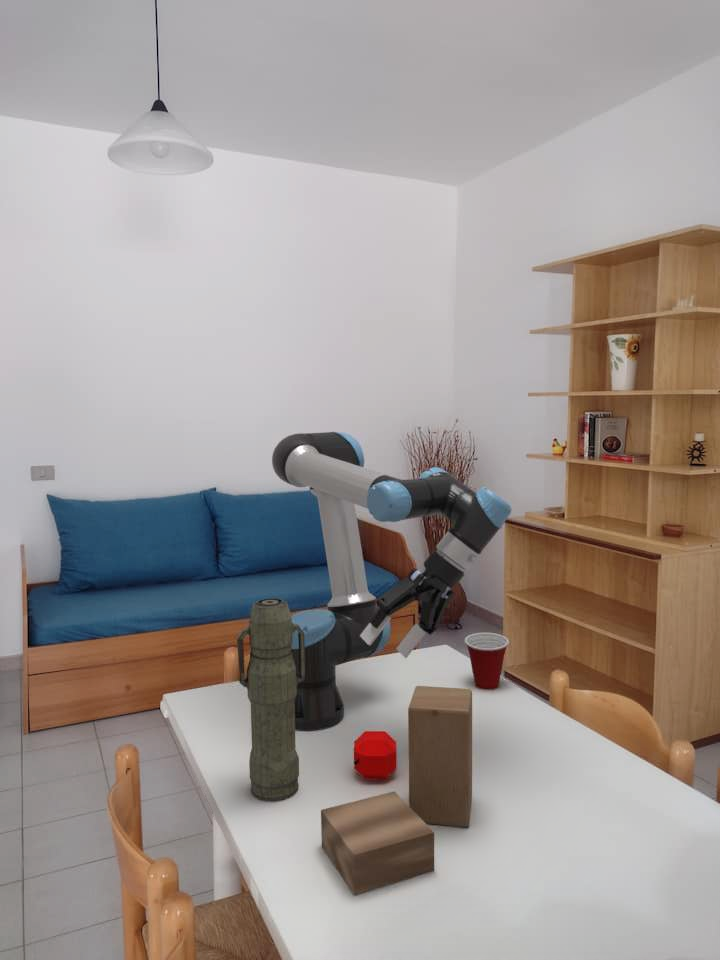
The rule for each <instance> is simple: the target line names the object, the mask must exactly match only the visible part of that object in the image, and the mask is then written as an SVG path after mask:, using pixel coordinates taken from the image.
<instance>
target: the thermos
mask: <svg viewBox="0 0 720 960" xmlns="http://www.w3.org/2000/svg"><path fill="white" fill-rule="evenodd" d="M249 615H250V616H249V621H248V627H245V628H242V630H241V631H240V632H239V634H238V635H237V637H236V643H237V657H238V658H237V659H238V681H239V684H240V685H241V686H243V688H246V689H247V699H248V701H249V703H250V726H251V730H250V732H251V750H250V753H249V763H248V764H249V765H248V766H249V767H248V768H249V779H250V783H251V784H250V785H251V787H250V793H251V796H253V797H254V799H256V798H257V800H260V801H262V802H267V801H268V802H269V801H270V802H276V801H277V802H281V801H285V800H287V799H290V798H292V797H294V796H295V795H296V794H297V793H298V791H299V786H300V785H299V777H300V758H299V755H298V752H297V749H296V729H295V702H294V700H295V698H296V695H297V686H298V682H302V681H304V679H305V644H304V632H303V631H302V629H301V628H300V627H299V625H298V624H293V623H292V613H291V611H290V608H289V605H288V602H287V601H286V600H284V599H281V598H279V597H278V598H277V597H269V598H268V597H267V598H261V599H259V600H257V601H255V602H254V603H253V604H252V607H251V610H250V614H249ZM297 630H298V638H299V673H300V675H298V674H297V672H296V664H295V661H294V659H293V650H292V649H291V645H292V633H295V631H297ZM247 635H248V636H249V638H248V639H249V647H250V652H249V661H248V665H247V668H246V678H245V650H244V649H245V648H244V638H245V637H246V636H247ZM268 802H267V803H268ZM270 802H269V803H270Z"/></svg>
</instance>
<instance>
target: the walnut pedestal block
mask: <svg viewBox="0 0 720 960" xmlns="http://www.w3.org/2000/svg"><path fill="white" fill-rule="evenodd" d="M320 823H321V824H320V826H321V827H320V828H321V831H320V832H321V847H322V849H323V851H324V852H325V853H326V854H327V856H328V858H329V859H330V861H331V863H332V864H333V865H334V867H335V868H336V870H337V871H338V873H339V874H340V876H341V877H342V879H343V880H344V882H345V883H346V885H347V886H348V887H349V889H350V890H351V892H352V893H353V896H358V895H360V894H364V893H368V892H369V891H373V890H377V889H380V888H383V887H385V886H389V885H393V884H396V883H400V882H402V881H406V880H408V879H411V878H415V877H419V876H422V875H426V874H428V873H430V872H434V871H435V832H434V831H433V830H432V829H431V827H430V826H429V825H428V823H425V822H424V821H423V820H422V819H421V818H420V817H419V816H418V815H417V814H416V813H415V812H414V811H413V810H412V809H411V808H410V807H409V804H408V803H407V802H405V800H404V799H403V798H402V797H401V796H400V795H399V794H398V793H397V792H396V791H394V790H393V791H390V792H386V793H382V794H378V795H375V796H370V797H367V798H363V799H359V800H353V801H352V802H351V801H350V802H347V803H343V804H342V803H341V804H338V805H335V806H331V807H327V808H323V809H320Z"/></svg>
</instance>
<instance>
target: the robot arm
mask: <svg viewBox="0 0 720 960" xmlns="http://www.w3.org/2000/svg"><path fill="white" fill-rule="evenodd" d="M271 465H272V468H273V471H274V473H275V474H276V476H277V477H278V478H279V479H280V480H281V481H282V482H285V483H286V484H288V485H291V486H294V487H296V488H306V487H309V491H310V493H312V495H314V496H315V497H316V498H317V502H318V503H317V505H318V509H319V517H320V523H321V529H322V536H323V542H324V549H325V557H326V562H327V568H328V576H329V584H330V590H331V596H332V597H331V599H330V601H328V603H327V604H326V605H327V609H326V608H325V609H324V608H323V609H322V608H314V609H312V610H311V609H307V610H302V611H299V612H297V613H295V614H291V616H292V623H293V624H298V625H299V627H300V628H301V629H302V631H303V632H304V644H305V679H304V681H302V682H298V686H297V695H296V698H295V700H294V702H295V731H297V730H298V731H317V730H323V729H327V728H330V727H334V726H336V725H338V724H339V723H340V722H341V721H342V720H343V719H344V717H345V705H344V701H343V699H342V696H341V693H340V690H339V688H338V686H337V682H336V681H337V680H336V666H339V665H342V664H346V663H349V662H352V661H356V660H359V659H363V658H369V657H371V656H373V655H375V654H378V653H380V652H382V651H383V649H384V648H385V647H386V645H387V644H388V642H389V639H390V635H391V621H390V620H392V617H391V615H393V614H395V613H397V612H398V611H400V610H401V609H403V608H404V607H407V606H409V605H410V604H412V603H414V602H419V601H422V607H421V613H420V618H419V621H418V623H415V624H414V625H413V626H412V628H411V629H410V630H409V632H407V634H406V635H405V636H404V638H403V639H402V641H401V642H400V644H399V645H398V646H397V647H396V650H397V651H398V652H399V653H400V655H402V656H403V658H405V659H407V658H408V657H409V655H410V654H411V653H412V652H413V650H414V649H415V648H416V647H417V645H418V644H419V643H420V641H421V640H423V637H424V636H425V635H426V634H427V633H428V635H430V636H431V635H432V634H433V633H434V632H436V631H437V630H438V628H439V625H440V623H441V620H442V618H443V615H444V613H445V611H446V609H447V606H448V603H449V602H450V600H451V598H453V596H454V594H455V591H453V590H452V589H451V588H456V586H457V585H458V584H459V583H460V581H461V580H462V579H463V577H464V576H465V572H464V571H468V570H469V569H470V568H471V566H472V565H473V564H474V563H476V562H477V559H478V557H479V556H480V555H481V553H482V552H483V550H484V549H485V548H486V547H487V545H488V544H489V543H490V542H491V541H492V539H493V538H494V537H495V535H496V534H497V533H498V531H499V530H500V529H502V528H503V525H504V524H505V523H506V521H507V519H508V518H509V516H510V515H511V513H512V511H513V510H512V507H511V505H510V503H508V502H507V501H506V500H505V499H503V498H502V497H501V496H499V495H498V494H497V493H495V492H494V491H493V490H492V489H489V488H488V487H486V486H483V487H481V488H480V489H479V490H477V491H474V490H472V489H471V488H470V487H469V486H467V485H466V484H465V483H463V482H461V481H460V480H459V479H458V478H456V477H455V476H454V475H453V474H451V473H450V472H448V471H445V470H444V469H442V468H441V467H436V466H435V467H430V468H428V470H425V471H423V472H422V473H421V474H420V476H419V477H418V478H412V479H402V478H401V479H400V478H397V477H394V476H390V475H388V474H385V473H381V472H379V471H375V470H372V469H369V468H365V467H364V466H365V454H364V451H363V449H362V446H361V444H360V442H359V441H358V440H357V439H356V438H354V437H353V436H352V435H351V434H350V433H346V432H338V431H337V432H336V431H326V432H311V433H310V432H309V433H308V432H307V433H299V432H298V433H294V434H290V435H287V436H285V437H284V438H283V439H281V440H280V441H279V442H278V443H277V444H276V446H275V448H274V450H273V452H272V456H271ZM356 505H357V506H358V507H359V506H360V507H362V508H364V509H367V510H368V512H369V514H370V515H372V516H373V519H374V520H376V521H377V522H381V523H386V522H389V523H396V522H400V521H405V520H412V519H417V518H424V517H425V518H426V517H431V516H437V515H441V516H442V517H444V518H445V519H447V520H448V521H449V522H451V524H452V525H451V526H450V528H449V530H448V531H447V532H446V533H445V534H444V536H443V537H442V538H441V539H440V541H439V542H438V543H437V544H436V546H435V547H436V549H437V550H432V552H431V553H430V554H429V556H427V558H426V560H424V562H423V566H424V568H425V570H424V571H423V572H420V571H419V570H418V569H417V568H416V567H415V568H412V570H410V572H409V573H408V574H407V575H406V576H405V577H404V578H403V579H401V580H400V581H399V582H397V584H395V585H394V586H392V587H391V588H390V589H388V590H387V591H386V592H385V593H383V594H382V595H381V596H380V597H378V598H376V596H374V595H373V594H372V593H370V591H369V589H368V583H367V581H368V580H367V577H366V575H367V574H366V570H365V569H366V568H365V561H364V556H363V548H362V543H361V537H360V529H359V523H358V518H357V513H356V512H357V511H356ZM291 649H292V650H293V659H294V661H295V664H296V672H297V674H298V675H300V673H299V638H298V630H297V631H295V633H292V645H291Z"/></svg>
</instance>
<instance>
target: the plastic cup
mask: <svg viewBox="0 0 720 960" xmlns="http://www.w3.org/2000/svg"><path fill="white" fill-rule="evenodd" d="M509 642H510V641H509V638H507V637H506V636H505V635H502V634H499V633H495V632H494V633H493V632H477V633H472V634H468V635H467V636H466V637H464V643H465V645H466V647H467V650H468V654H469V658H470V659H469V660H470V664H471V670H472V674H473V680H474V684H475V687H476V688H479V689H481V690H488V691H489V690H495V689H498V687H499V685H500V679H501V674H502V670H503V666H504V665H503V664H504V658H505V653H506V650H507V646H509Z"/></svg>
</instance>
